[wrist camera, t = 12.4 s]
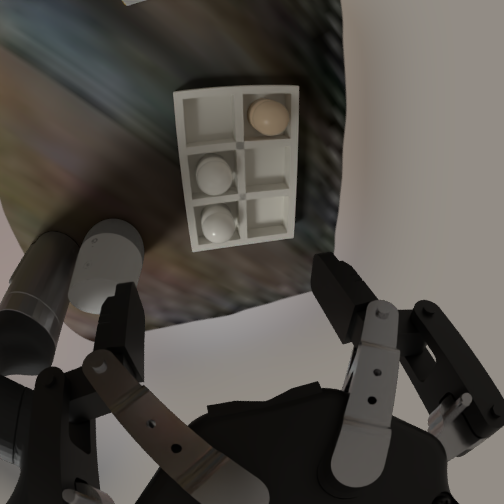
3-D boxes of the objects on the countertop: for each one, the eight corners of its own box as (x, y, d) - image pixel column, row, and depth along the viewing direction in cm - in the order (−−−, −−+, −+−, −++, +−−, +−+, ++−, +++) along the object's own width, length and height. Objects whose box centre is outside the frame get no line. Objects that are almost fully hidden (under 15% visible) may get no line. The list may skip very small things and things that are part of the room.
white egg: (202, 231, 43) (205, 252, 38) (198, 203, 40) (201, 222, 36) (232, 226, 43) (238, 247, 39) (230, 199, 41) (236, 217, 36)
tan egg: (247, 131, 36) (256, 140, 31) (246, 98, 33) (256, 102, 29) (279, 129, 36) (294, 138, 32) (279, 98, 34) (294, 102, 29)
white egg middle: (197, 186, 39) (199, 203, 34) (193, 155, 36) (195, 168, 32) (229, 182, 39) (236, 198, 35) (227, 151, 37) (234, 163, 32)
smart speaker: (102, 270, 43) (85, 336, 32) (78, 223, 38) (47, 283, 27) (154, 256, 44) (150, 322, 33) (133, 204, 39) (117, 262, 27)
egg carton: (191, 240, 44) (192, 252, 41) (174, 91, 31) (173, 92, 29) (286, 227, 46) (293, 237, 44) (290, 84, 34) (299, 86, 31)
